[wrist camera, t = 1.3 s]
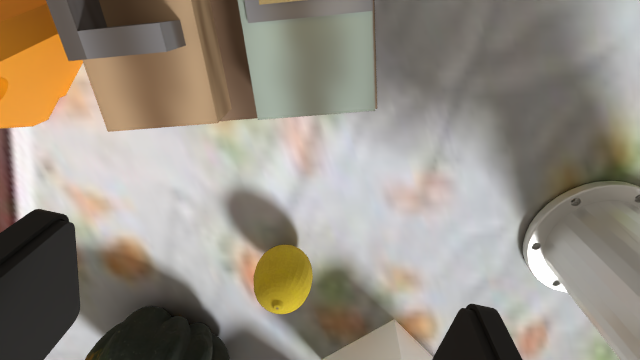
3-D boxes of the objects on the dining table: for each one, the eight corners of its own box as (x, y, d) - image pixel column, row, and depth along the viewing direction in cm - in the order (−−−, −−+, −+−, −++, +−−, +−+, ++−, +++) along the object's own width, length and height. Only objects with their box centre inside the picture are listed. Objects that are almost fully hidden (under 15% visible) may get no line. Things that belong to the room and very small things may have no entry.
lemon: (266, 224, 38) (250, 278, 31) (319, 235, 38) (316, 291, 31) (258, 266, 40) (241, 325, 33) (308, 276, 41) (302, 337, 33)
